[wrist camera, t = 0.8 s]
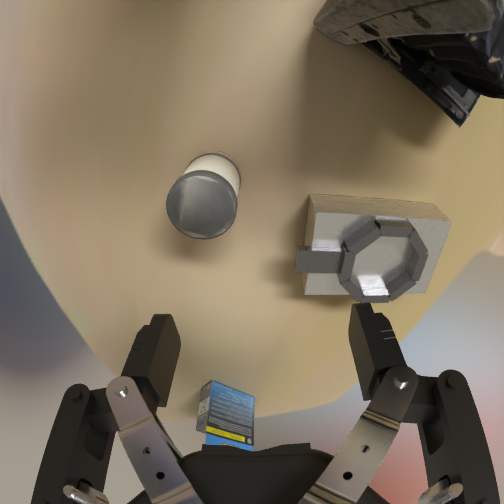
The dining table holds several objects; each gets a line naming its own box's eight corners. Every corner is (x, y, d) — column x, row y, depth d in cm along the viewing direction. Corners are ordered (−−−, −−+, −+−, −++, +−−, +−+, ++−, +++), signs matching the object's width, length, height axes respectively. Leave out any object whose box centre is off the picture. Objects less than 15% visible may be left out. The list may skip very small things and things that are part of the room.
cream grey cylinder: (184, 150, 26) (162, 175, 20) (241, 149, 26) (236, 174, 20) (188, 201, 29) (170, 238, 23) (241, 202, 29) (236, 240, 23)
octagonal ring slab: (296, 193, 28) (303, 220, 24) (433, 203, 28) (458, 229, 23) (289, 270, 33) (293, 305, 29) (412, 271, 33) (430, 302, 28)
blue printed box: (200, 387, 47) (190, 452, 37) (212, 378, 46) (203, 447, 35) (242, 404, 50) (239, 465, 40) (256, 396, 48) (254, 460, 38)
